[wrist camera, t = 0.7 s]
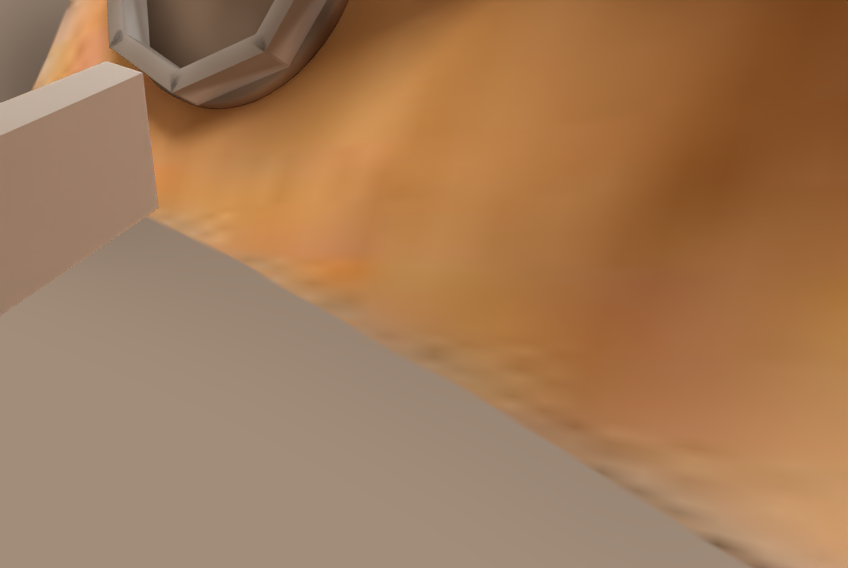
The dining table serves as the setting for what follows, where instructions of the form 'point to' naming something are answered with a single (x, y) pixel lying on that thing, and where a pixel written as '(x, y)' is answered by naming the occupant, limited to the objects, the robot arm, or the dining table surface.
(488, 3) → the dining table surface
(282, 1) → the plate
